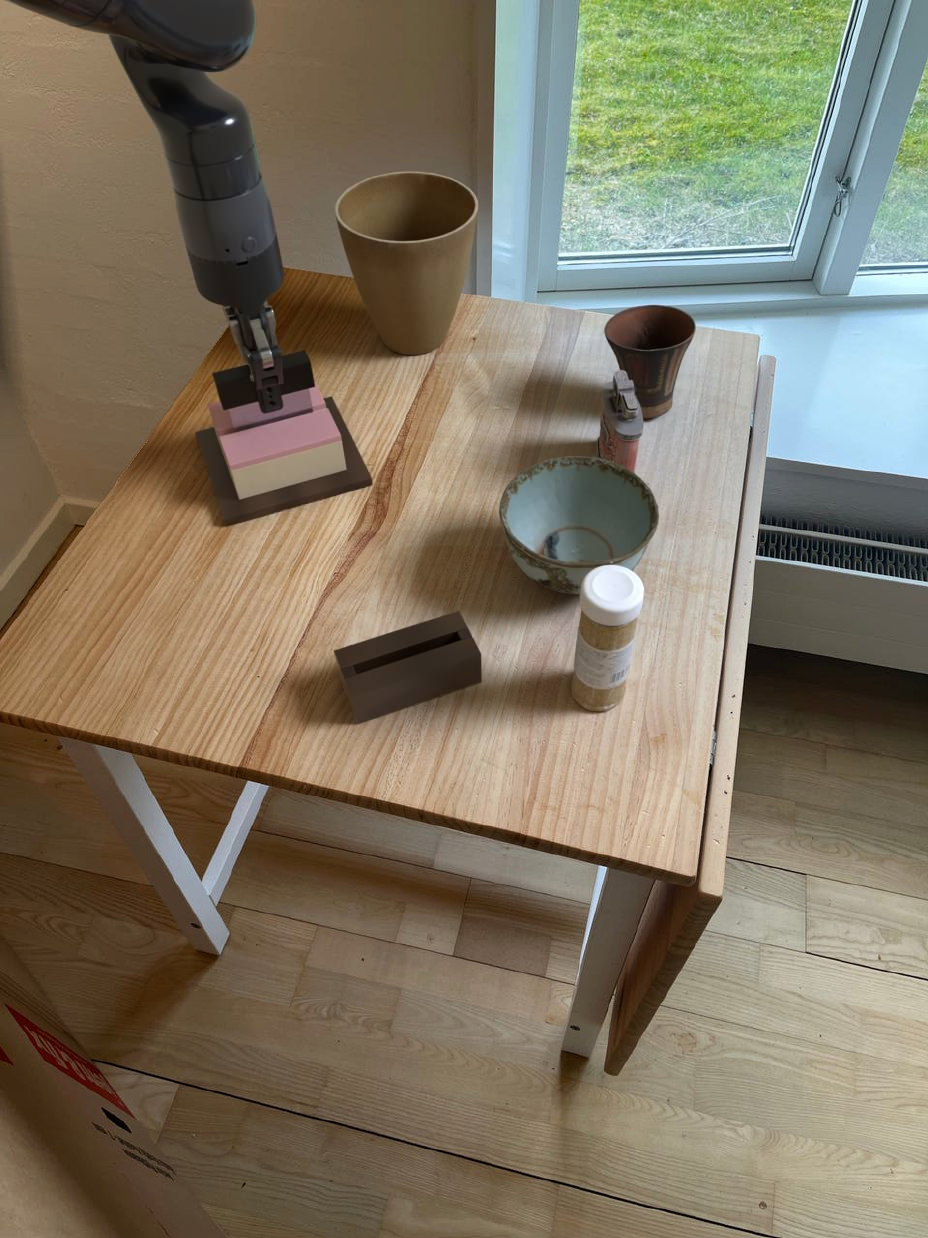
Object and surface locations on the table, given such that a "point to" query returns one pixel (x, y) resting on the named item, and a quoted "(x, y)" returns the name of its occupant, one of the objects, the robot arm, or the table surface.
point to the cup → (651, 351)
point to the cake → (283, 453)
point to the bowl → (576, 519)
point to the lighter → (620, 422)
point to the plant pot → (409, 253)
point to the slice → (224, 421)
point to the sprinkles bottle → (605, 636)
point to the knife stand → (408, 666)
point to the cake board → (285, 496)
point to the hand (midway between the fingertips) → (268, 401)
